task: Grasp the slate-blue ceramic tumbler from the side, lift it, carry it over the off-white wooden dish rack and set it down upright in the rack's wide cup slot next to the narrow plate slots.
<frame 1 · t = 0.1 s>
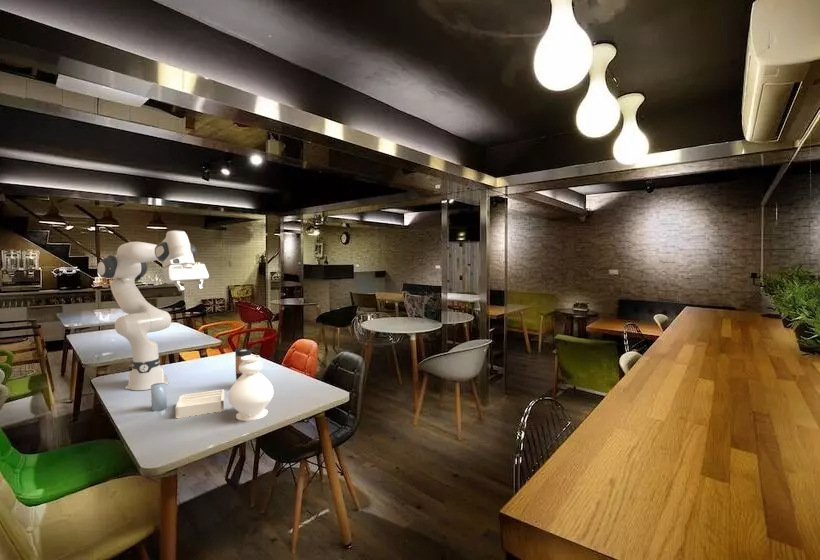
hand: (191, 289, 179), 52 cm above the table, tool tilted 20°, fingers open, 8 cm apart
travel mug: (244, 388, 196), on the table
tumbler: (159, 409, 168), on the table
decorative vase: (251, 415, 162), on the table
dish rack: (201, 408, 169), on the table
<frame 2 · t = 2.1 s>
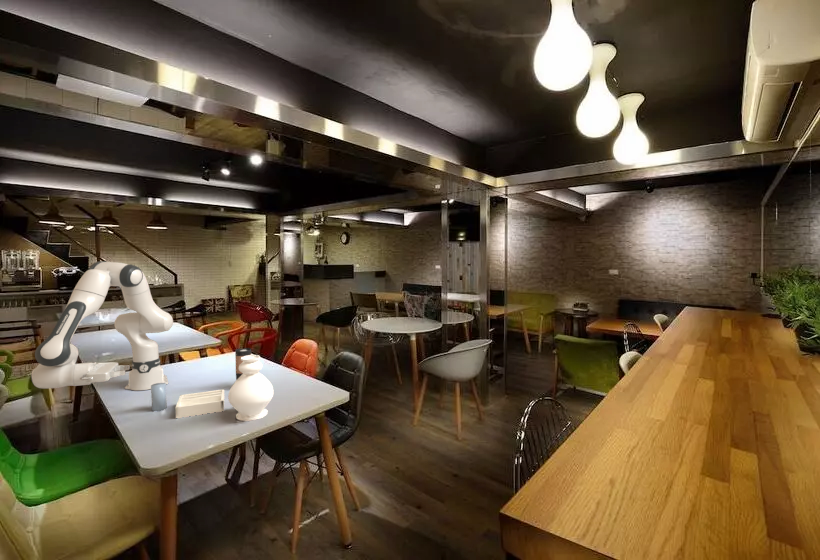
hand: (127, 370, 162), 19 cm above the table, tool horizontal, fingers open, 8 cm apart
nothing on the table moved.
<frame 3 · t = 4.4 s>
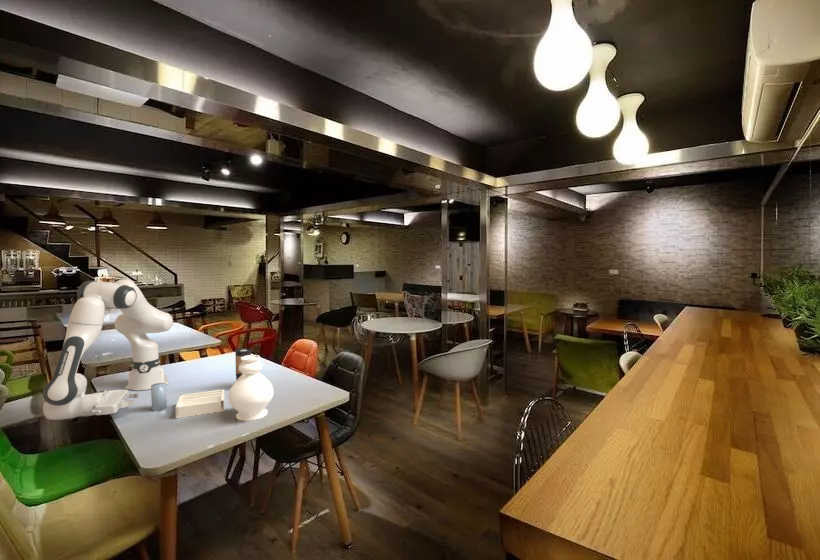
hand: (135, 398, 164), 6 cm above the table, tool horizontal, fingers open, 8 cm apart
nothing on the table moved.
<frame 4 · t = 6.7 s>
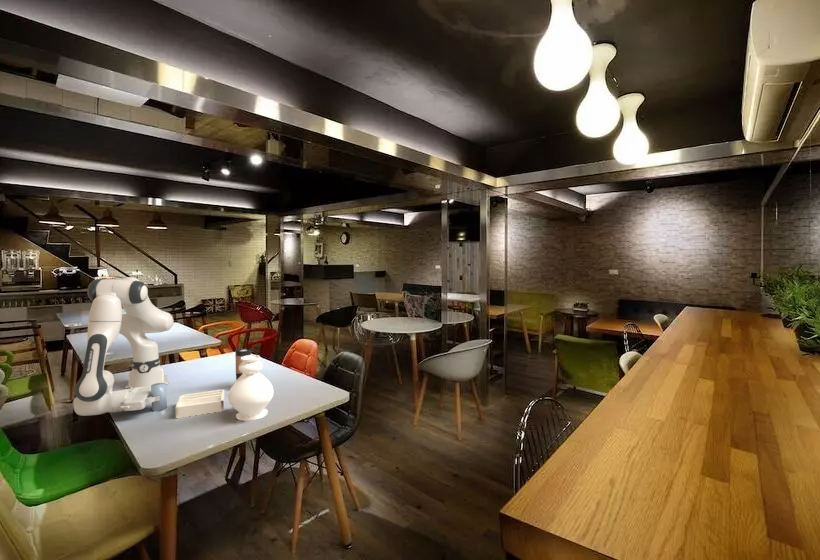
hand: (161, 395, 168), 6 cm above the table, tool horizontal, fingers closed on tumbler, 5 cm apart
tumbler: (159, 409, 168), on the table, touching gripper
everything else where it was.
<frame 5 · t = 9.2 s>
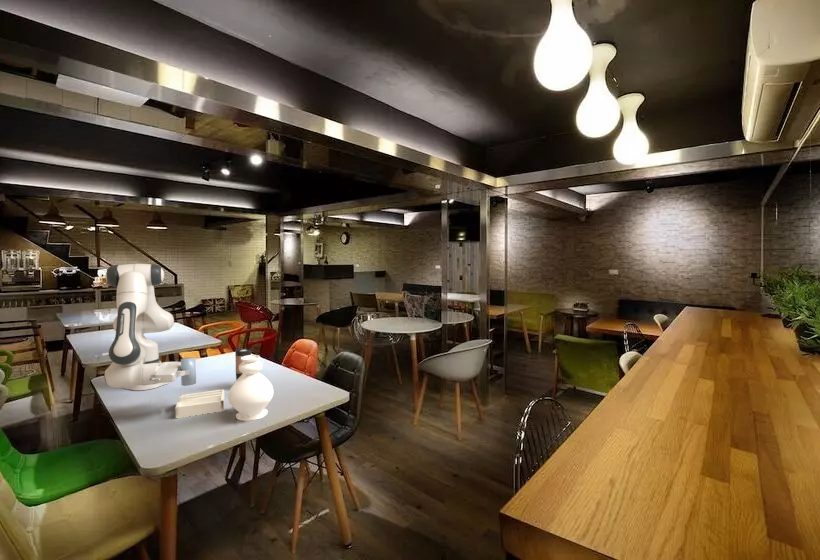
hand: (190, 369, 165), 18 cm above the table, tool horizontal, fingers closed on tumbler, 5 cm apart
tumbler: (188, 383, 165), point 12 cm above the table, touching gripper
everything else where it was.
when the fingers open (9 cm above the table, at t = 12.2 s): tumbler drops 2 cm, resting on dish rack.
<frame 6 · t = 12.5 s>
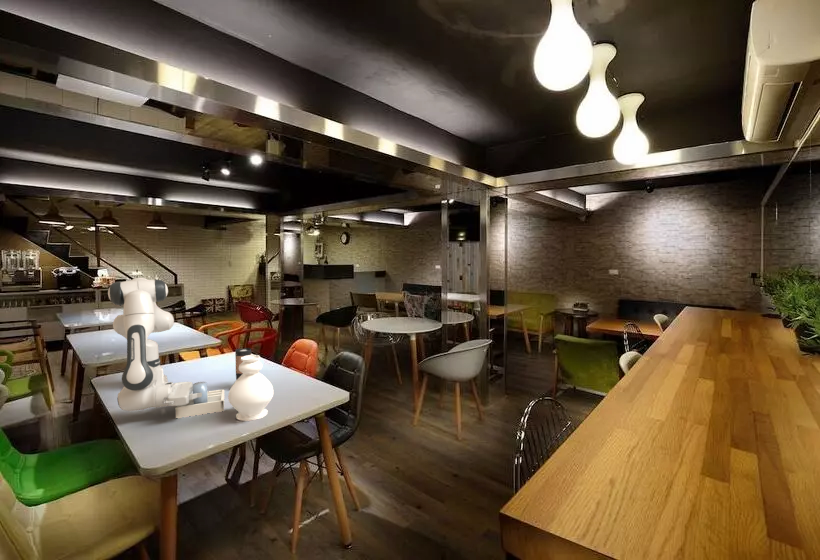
hand: (202, 390, 166), 9 cm above the table, tool horizontal, fingers open, 8 cm apart
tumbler: (200, 408, 166), point 1 cm above the table, touching dish rack
everything else where it was.
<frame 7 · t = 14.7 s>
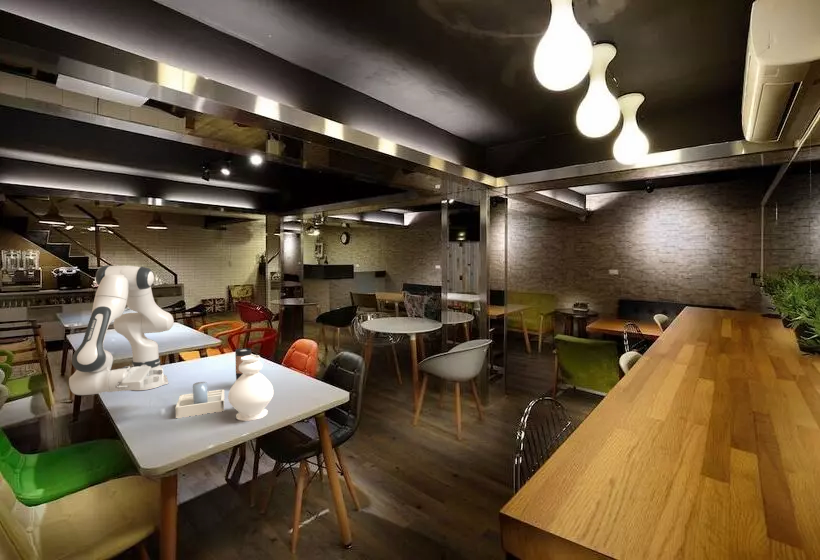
hand: (160, 375, 162), 17 cm above the table, tool horizontal, fingers open, 8 cm apart
nothing on the table moved.
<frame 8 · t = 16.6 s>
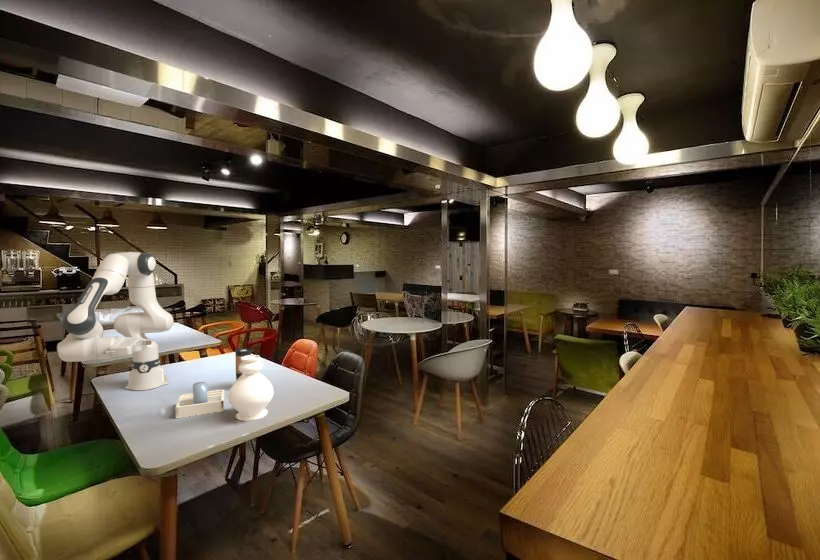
hand: (149, 344, 162), 30 cm above the table, tool horizontal, fingers open, 8 cm apart
nothing on the table moved.
at the end: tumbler inside the target area on the dish rack (0.1 cm from its centre), point 1.2 cm above the dish rack's base; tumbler tilted 0°; the gripper is holding nothing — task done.
